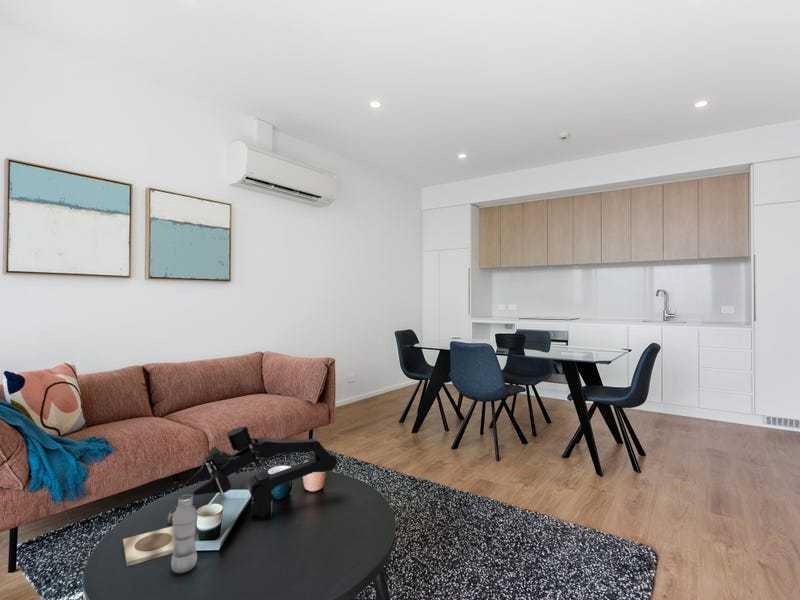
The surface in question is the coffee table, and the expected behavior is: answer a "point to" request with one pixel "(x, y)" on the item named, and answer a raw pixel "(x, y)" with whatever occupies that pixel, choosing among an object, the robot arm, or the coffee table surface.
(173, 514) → the wristwatch
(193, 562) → the plastic bottle
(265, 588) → the coffee table surface
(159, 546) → the ash board
